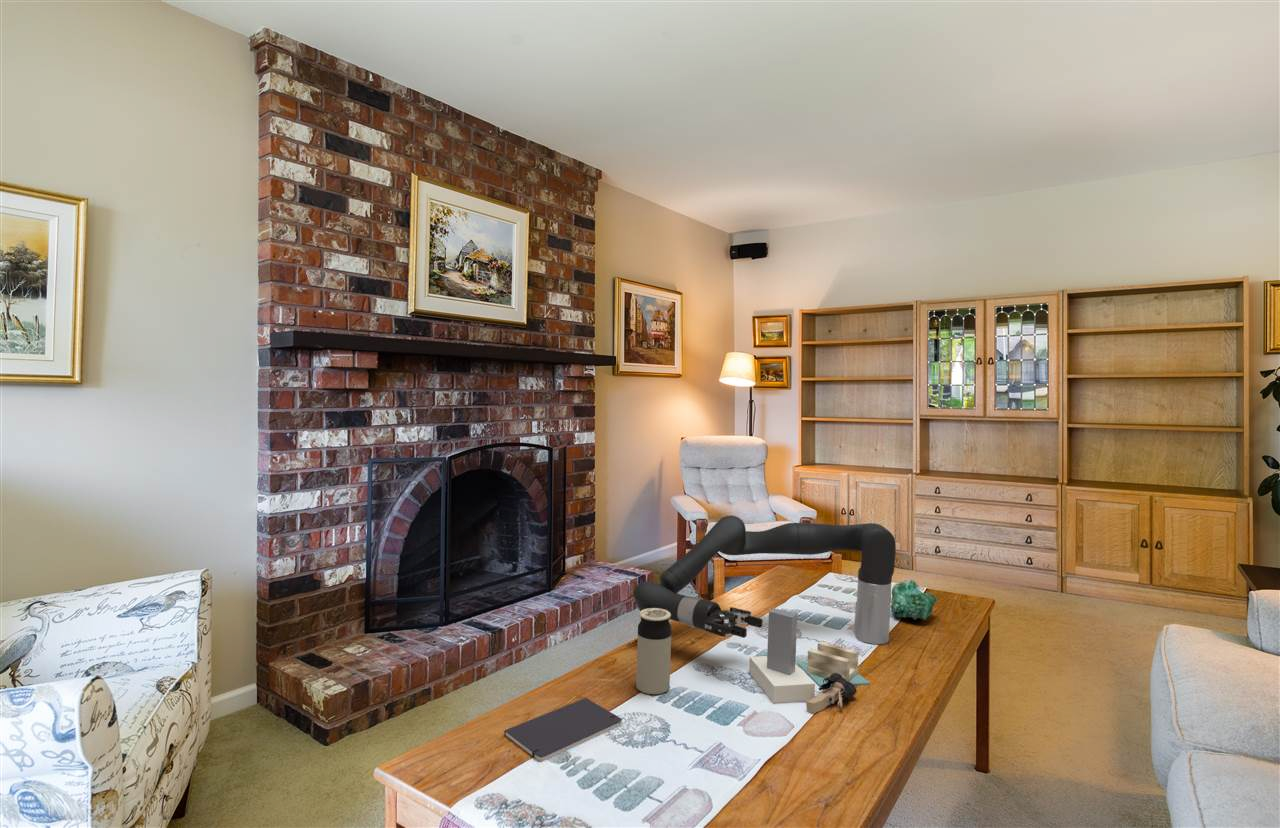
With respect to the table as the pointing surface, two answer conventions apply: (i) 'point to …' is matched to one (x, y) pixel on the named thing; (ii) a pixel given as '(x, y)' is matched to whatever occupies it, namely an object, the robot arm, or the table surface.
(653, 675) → the travel mug
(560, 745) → the notebook
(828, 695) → the toy figure
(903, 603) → the mineral
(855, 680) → the mat
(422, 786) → the table surface
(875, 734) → the table surface
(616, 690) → the table surface
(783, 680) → the cream flat block
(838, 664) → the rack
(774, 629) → the grey rectangular block
